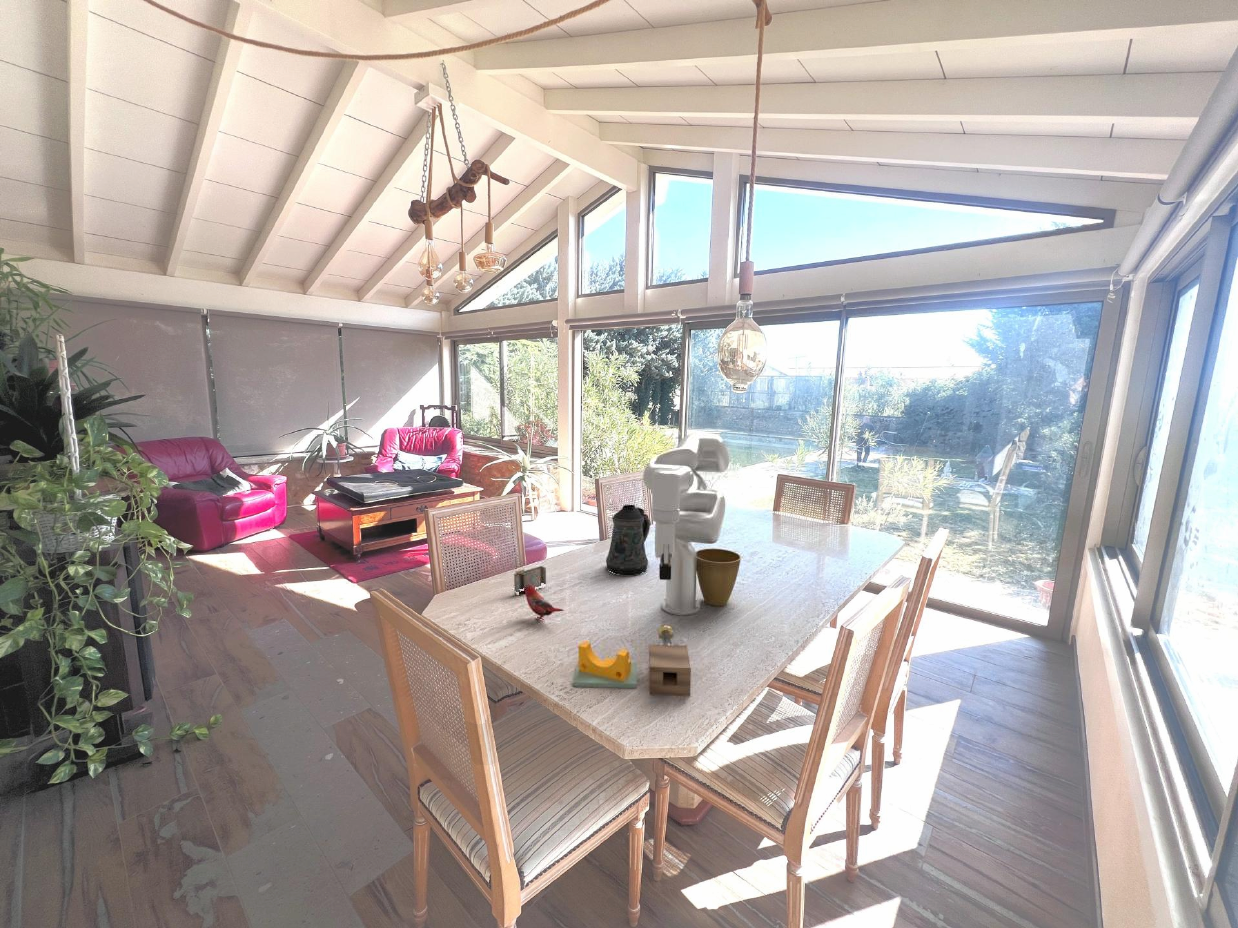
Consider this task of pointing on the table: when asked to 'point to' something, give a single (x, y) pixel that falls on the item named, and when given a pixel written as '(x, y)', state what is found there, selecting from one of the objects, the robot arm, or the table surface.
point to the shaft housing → (669, 670)
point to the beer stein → (628, 541)
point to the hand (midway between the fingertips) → (665, 578)
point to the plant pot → (717, 574)
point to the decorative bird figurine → (538, 603)
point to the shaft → (665, 634)
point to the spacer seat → (604, 679)
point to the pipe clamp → (604, 663)
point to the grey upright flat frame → (529, 578)
